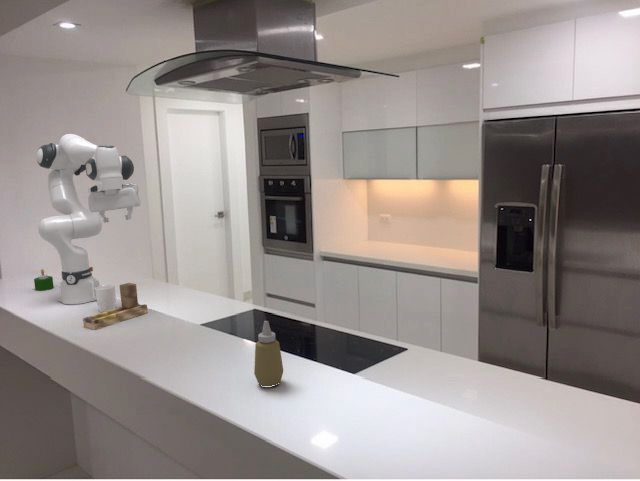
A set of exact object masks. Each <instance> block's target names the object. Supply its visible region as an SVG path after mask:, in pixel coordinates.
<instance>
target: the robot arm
mask: <svg viewBox="0 0 640 481" xmlns="http://www.w3.org/2000/svg"><path fill="white" fill-rule="evenodd" d="M36 162H37V164H38V166H40V167H41V168H44V169H47V170H49V169H51V170H52V171H50V172H49V173H48V176H47V188H48V193H49V197H50V201H51V207H52V208H53V209H54V210H55V211H56V212H58V213H60V214H61V215H52V216H48V217H45V218H42V219H41V220H40V222H39V223H38V227H37V228H38V234H39V235H40V237H41V238H42V239H43V240H44V241H46V242H48V243H49V244H51V245H52V246H53V247H54V248H55V249H56V250H57V253H58V255H59V259H60V264H61V280H62V281H61V282H60V284H59V288H60V290H59V291H60V292H59V293H60V298H58V299H57V300H58V301H57V302H59V303H62V304H64V305H78V304H79V305H80V304H85V303H90V302H92V301H95V302H96V301H97V299H96V293H95V287H97V286H101V285H100V282H99V281H100V280H98V279H97V278H96V277H95V276H93V273H92V272H93V271H94V267H93V266H90V263H89V254H88V251H87V250H86V249H85V248H83V247H80V246H77V245H74V244H73V243H72V240H76V239H77V240H79V239H85V238H86V239H87V238H91V237H94V236H98V235H99V234H100V233H101V232H102V228H103V223H104V224H105V223H109V221H110V220H109V217H107V216H106V215H105V214H106V211H113V210H115V211H116V210H121V209H122V210H123V209H126V211H127V213H126V214H125V220H127V221H129V220H131V219H132V213H133V208H137V207H140V206H141V203H142V202H141V197H140V193H139V187H138V185H137V184H135V183H124V181H127V180H128V181H129V179H130V178H131V177H132V175H134V172H135V171H134V170H135V169H134V168H135V166H134V163H133V161H132V159H130V158H129V157H128V156H127V155H120V154H119V151H118V148H117V147H116V146H115V145H97V144H94V143H92V142H90V141H88V140H87V139H85V138H83V137H81V136H80V135H77V134H74V133H67V134H63V135H62V136H61V138H60V139H59V142H58V143H57V144H54V142H51V143H48V144H43V145H41V146H40V147H39V148H38V150H37V153H36ZM83 172H85V173H86V176H87V177H88V178H89V179H91V180H92V181H95V182H98V183H96V184H93V185H92V186H90V187H88V189H87V192H88V196H87V197H88V198H87V200H88V204H87V205H88V209H87V208H85V207H84V205H82V203H81V201H80V199H79V197H78V194H77V189H76V185H75V183H74V175H75V176H80V175H81V174H82V173H83ZM96 213H98V214H96ZM101 218H102V219H101Z"/></svg>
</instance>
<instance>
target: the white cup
mask: <svg viewBox="0 0 640 481" xmlns="http://www.w3.org/2000/svg"><path fill="white" fill-rule="evenodd" d="M95 293H96V299H97V300H96V304H97V307H98V311H99V313H102V312H106V311H109V310H112V309H116V308H117V307H116V306H117V304H116V301H117V300H116V296H117V294H116V285H115V284H102V285H100V286H97V287H95Z"/></svg>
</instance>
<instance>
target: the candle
mask: <svg viewBox="0 0 640 481" xmlns="http://www.w3.org/2000/svg"><path fill="white" fill-rule="evenodd" d="M40 273H41V274H40V275H38V276H37V277H35V278H33V283H34V289H35V291H37V292H45V291H50V290H54V288H55V286H54V278H53V276H50V275H48V274H45V271H44V268H42V269H41V270H40Z"/></svg>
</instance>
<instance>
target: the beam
mask: <svg viewBox="0 0 640 481" xmlns="http://www.w3.org/2000/svg"><path fill="white" fill-rule="evenodd" d="M148 312H149V310H148V305H147V304H145V303H144V304H139V302H138V306H135V307H133V308H130V309H127V310H124V307H122V306H120V307H116V309H112V310H109V311H106V312H99V313H96V314H93V315H89V316H86V317H83V318H82V322H83V328H85V329H89V330H94V331H95V330H100V329H102V328H106V327H108V326H112V325H114V324H117V323H118V324H119V323H120V322H121V323H122V322H123V321H126V320H127V321H128V320H131V319H133V318H136V317H140V316H142V315H145V314H148Z"/></svg>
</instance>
